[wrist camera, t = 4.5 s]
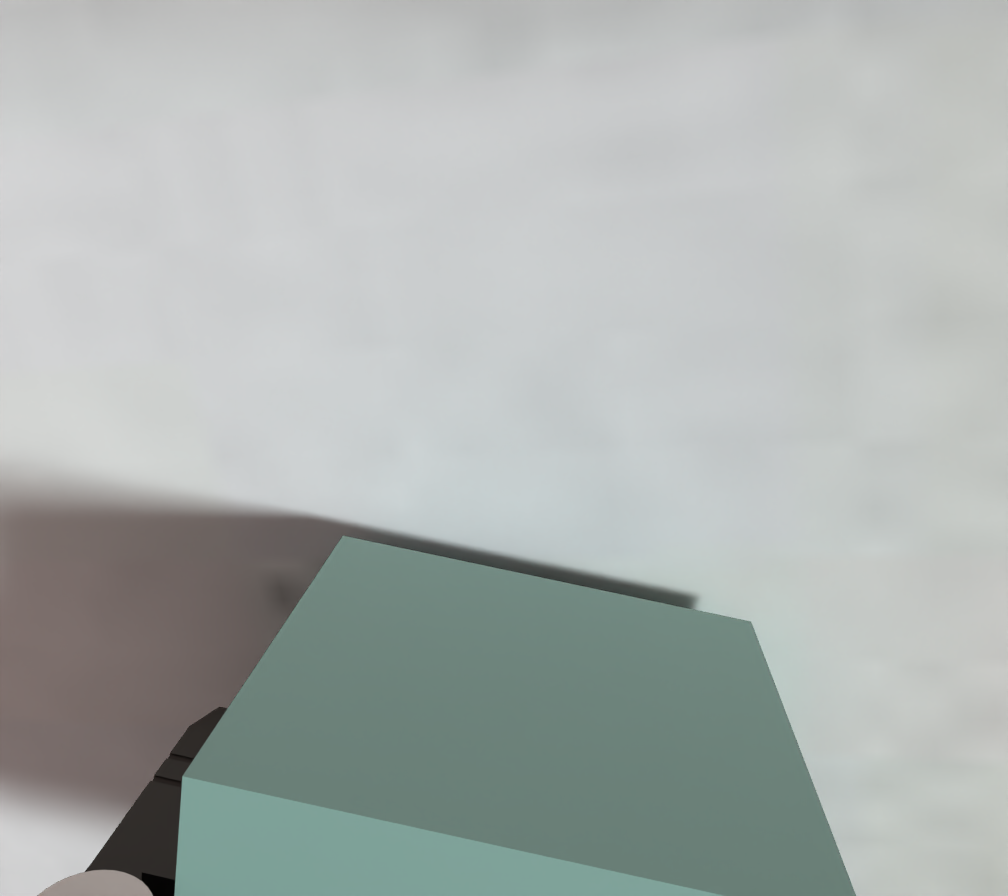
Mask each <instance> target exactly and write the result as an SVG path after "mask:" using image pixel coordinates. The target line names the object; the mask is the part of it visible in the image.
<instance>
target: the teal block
mask: <svg viewBox="0 0 1008 896" xmlns="http://www.w3.org/2000/svg"><path fill="white" fill-rule="evenodd" d="M174 896H856V894H855V892H854V889H853V887H852V884H851V881H850V879H849V876H848V874H847V871H846V868H845V866H844V863H843V860H842V858H841V855H840V853H839V850H838V847H837V845H836V842H835V840H834V837H833V834H832V832H831V829H830V827H829V824H828V821H827V819H826V816H825V814H824V811H823V808H822V806H821V803H820V800H819V798H818V795H817V793H816V790H815V787H814V785H813V782H812V780H811V777H810V774H809V772H808V769H807V767H806V764H805V761H804V759H803V756H802V753H801V751H800V748H799V746H798V743H797V740H796V738H795V735H794V733H793V730H792V727H791V725H790V722H789V720H788V717H787V714H786V712H785V709H784V707H783V704H782V701H781V699H780V696H779V693H778V691H777V688H776V686H775V683H774V680H773V678H772V675H771V673H770V670H769V667H768V665H767V662H766V660H765V657H764V654H763V652H762V649H761V647H760V644H759V641H758V639H757V636H756V633H755V631H754V628H753V626H752V623H751V622H750V621H745V620H740V619H736V618H731V617H726V616H721V615H717V614H712V613H707V612H702V611H698V610H693V609H688V608H684V607H679V606H674V605H669V604H665V603H660V602H655V601H650V600H646V599H641V598H636V597H632V596H627V595H622V594H617V593H613V592H608V591H603V590H598V589H594V588H589V587H584V586H579V585H575V584H570V583H565V582H561V581H556V580H551V579H546V578H542V577H537V576H532V575H527V574H523V573H518V572H513V571H508V570H504V569H499V568H494V567H490V566H485V565H480V564H475V563H471V562H466V561H461V560H456V559H452V558H447V557H442V556H438V555H433V554H428V553H423V552H419V551H414V550H409V549H404V548H400V547H395V546H390V545H385V544H381V543H376V542H371V541H367V540H362V539H357V538H352V537H348V536H342V538H341V539H340V541H339V542H338V544H337V545H336V547H335V548H334V550H333V551H332V553H331V554H330V556H329V557H328V559H327V560H326V562H325V563H324V565H323V566H322V568H321V569H320V571H319V572H318V574H317V575H316V577H315V578H314V580H313V581H312V583H311V584H310V586H309V587H308V589H307V590H306V592H305V593H304V595H303V596H302V598H301V599H300V601H299V602H298V604H297V605H296V607H295V608H294V610H293V611H292V613H291V614H290V616H289V617H288V619H287V620H286V622H285V623H284V625H283V626H282V628H281V629H280V631H279V632H278V634H277V635H276V637H275V638H274V640H273V641H272V643H271V644H270V646H269V647H268V649H267V650H266V652H265V653H264V655H263V656H262V658H261V659H260V661H259V662H258V664H257V665H256V667H255V668H254V670H253V671H252V673H251V674H250V676H249V677H248V679H247V680H246V682H245V683H244V685H243V686H242V688H241V689H240V691H239V692H238V694H237V695H236V697H235V698H234V700H233V701H232V703H231V704H230V706H229V707H228V709H227V710H226V712H225V713H224V715H223V716H222V718H221V719H220V721H219V722H218V724H217V725H216V727H215V728H214V730H213V731H212V733H211V734H210V736H209V737H208V739H207V740H206V742H205V743H204V745H203V746H202V748H201V749H200V751H199V752H198V754H197V755H196V757H195V758H194V760H193V761H192V763H191V764H190V766H189V767H188V769H187V770H186V772H185V773H184V775H183V776H182V790H181V805H180V819H179V834H178V849H177V864H176V878H175V893H174Z"/></svg>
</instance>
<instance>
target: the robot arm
mask: <svg viewBox="0 0 1008 896" xmlns="http://www.w3.org/2000/svg"><path fill="white" fill-rule="evenodd" d="M227 709H228V708H223V707H218V708H217V709H215V710H214V711H212V712H211V713H209V714H208V715H206V716H205V717H203V718H202V719H200V720H198V721H197V722H195V723H194V724H192V725H191V726H189V728H188V729H187V730H186V732H185V733H184V735H183V736H182V737H181V739H180V740H179V742H178V743H177V744H176V746H175V747H174V749H173V750H172V751H171V753H170V756H169V758H168V759H167V758H166V760H165V761H164V763H163V764H162V765H161V767H160V768H159V770H158V771H157V772H156V774H155V775H154V779H153V781H150V782H149V784H148V785H147V786H146V788H145V789H144V791H143V792H142V793H141V795H140V796H139V798H138V799H137V800H136V802H135V803H134V805H133V806H132V807H131V809H130V810H129V812H128V813H127V814H126V816H125V817H124V819H123V820H122V821H121V823H120V824H119V826H118V827H117V828H116V830H115V831H114V833H113V834H112V835H111V837H110V838H109V840H108V841H107V842H106V844H105V845H104V847H103V848H102V849H101V851H100V852H99V854H98V855H97V856H96V858H95V859H94V860H93V862H92V863H91V865H90V866H89V867H88V868H87V870H86V871H85V872H83V873H79V874H76V875H73V876H70V877H67V878H65V879H63V880H61V881H58V882H56V883H55V884H53V885H51V886H50V887H48V888H46V889H45V890H44V891H43V892H41V893H40V894H39V895H37V896H174V893H175V878H176V864H177V849H178V834H179V819H180V805H181V790H182V776H183V775H184V773H185V772H186V770H187V769H188V767H189V766H190V764H191V763H192V761H193V760H194V758H195V757H196V755H197V754H198V752H199V751H200V749H201V748H202V746H203V745H204V743H205V742H206V740H207V739H208V737H209V736H210V734H211V733H212V731H213V730H214V728H215V727H216V725H217V724H218V722H219V721H220V719H221V718H222V716H223V715H224V713H225V712H226V710H227Z"/></svg>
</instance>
